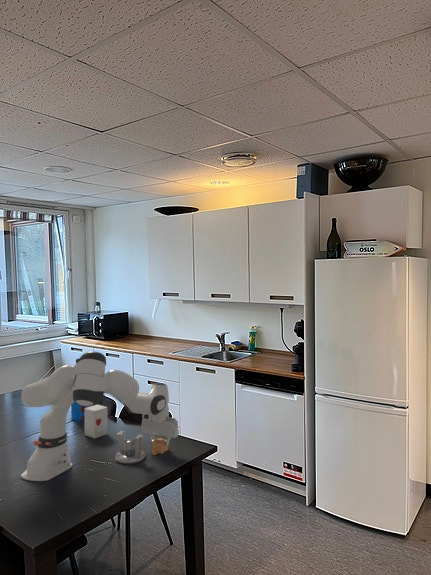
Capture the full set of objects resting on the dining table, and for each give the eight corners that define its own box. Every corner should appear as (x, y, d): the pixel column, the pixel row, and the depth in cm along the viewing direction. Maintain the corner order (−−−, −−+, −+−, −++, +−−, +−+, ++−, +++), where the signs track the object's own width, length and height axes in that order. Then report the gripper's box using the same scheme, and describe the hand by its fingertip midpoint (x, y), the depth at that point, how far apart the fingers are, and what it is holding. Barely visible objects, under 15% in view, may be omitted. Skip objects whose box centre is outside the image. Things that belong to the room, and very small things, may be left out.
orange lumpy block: (171, 448, 214) (170, 437, 214) (158, 456, 204) (158, 444, 204) (161, 446, 216) (161, 435, 216) (148, 454, 207) (148, 442, 207)
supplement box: (94, 439, 226) (94, 411, 226) (84, 435, 232) (83, 408, 231) (108, 434, 233) (107, 406, 233) (97, 430, 239) (97, 404, 239)
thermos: (70, 416, 263) (70, 376, 262) (88, 414, 267) (88, 374, 267) (72, 422, 253) (72, 380, 252) (91, 419, 258) (90, 378, 257)
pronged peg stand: (137, 465, 194) (137, 441, 193) (109, 462, 197) (109, 438, 197) (149, 453, 207) (149, 430, 207) (123, 450, 211) (122, 428, 210)
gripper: (181, 416, 208) (181, 445, 208) (147, 411, 217) (147, 437, 218) (173, 420, 202) (174, 449, 202) (139, 414, 212) (139, 442, 212)
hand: (160, 443), depth 210 cm, fingers open, 7 cm apart
